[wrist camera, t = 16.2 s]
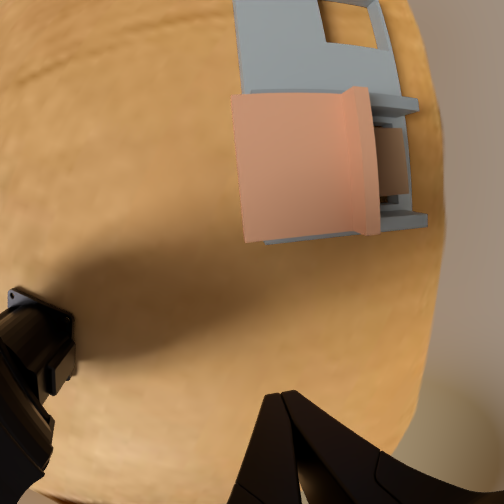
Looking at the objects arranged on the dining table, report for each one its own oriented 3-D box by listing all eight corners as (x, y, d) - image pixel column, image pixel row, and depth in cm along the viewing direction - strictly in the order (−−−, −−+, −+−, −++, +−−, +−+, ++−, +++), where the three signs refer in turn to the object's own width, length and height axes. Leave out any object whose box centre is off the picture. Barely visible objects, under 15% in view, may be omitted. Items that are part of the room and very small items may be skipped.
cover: (244, 240, 15) (248, 249, 13) (230, 98, 14) (232, 85, 12) (361, 228, 16) (380, 234, 14) (350, 97, 14) (367, 87, 12)
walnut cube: (327, 196, 20) (352, 199, 16) (319, 137, 19) (343, 127, 15) (377, 191, 20) (409, 193, 16) (371, 136, 19) (401, 128, 15)
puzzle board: (255, 232, 20) (265, 244, 16) (231, -8, 16) (235, -42, 11) (401, 217, 21) (436, 226, 16) (368, 3, 17) (393, -21, 12)
